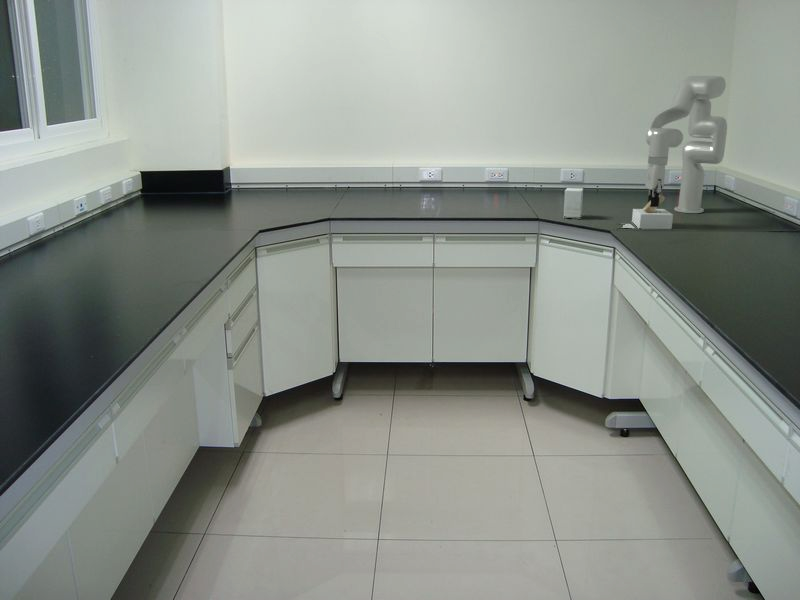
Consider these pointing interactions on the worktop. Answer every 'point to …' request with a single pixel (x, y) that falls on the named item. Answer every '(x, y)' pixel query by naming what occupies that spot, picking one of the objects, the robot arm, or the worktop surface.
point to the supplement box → (573, 202)
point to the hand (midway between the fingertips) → (652, 205)
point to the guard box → (652, 219)
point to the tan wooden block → (652, 209)
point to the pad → (628, 226)
